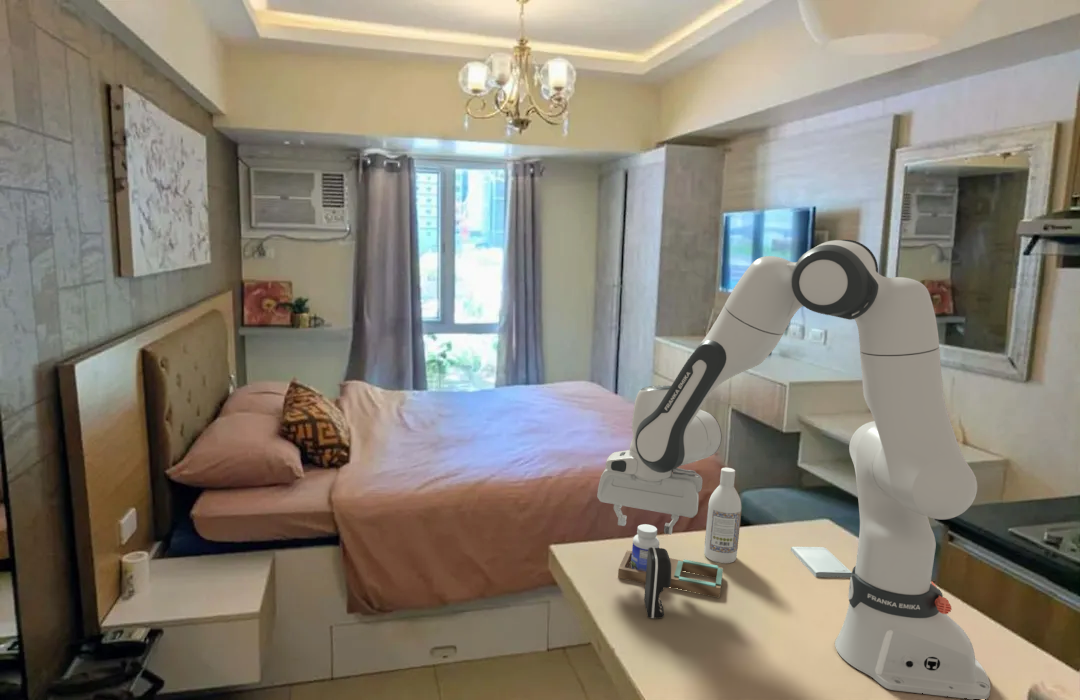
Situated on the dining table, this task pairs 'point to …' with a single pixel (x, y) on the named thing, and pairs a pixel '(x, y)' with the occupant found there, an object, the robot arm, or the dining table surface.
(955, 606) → the dining table surface
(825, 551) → the hard drive
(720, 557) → the bath foam
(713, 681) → the dining table surface
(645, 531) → the pill bottle
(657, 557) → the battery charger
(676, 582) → the wooden frame
